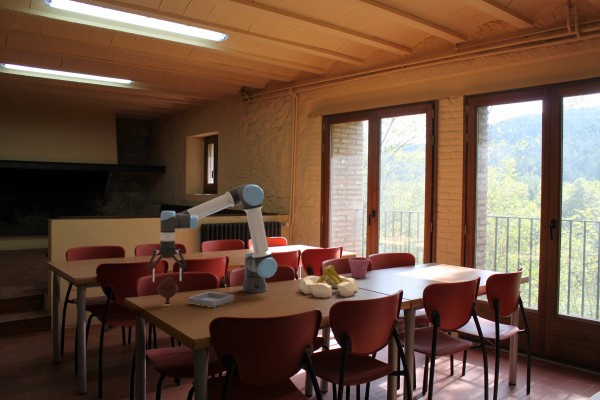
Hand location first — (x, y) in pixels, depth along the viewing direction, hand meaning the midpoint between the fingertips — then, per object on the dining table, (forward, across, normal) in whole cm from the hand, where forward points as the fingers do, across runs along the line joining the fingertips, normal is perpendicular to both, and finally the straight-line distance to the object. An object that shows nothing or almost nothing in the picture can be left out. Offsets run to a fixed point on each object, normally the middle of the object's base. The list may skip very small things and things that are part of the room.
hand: (167, 280), depth 259 cm
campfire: (+12, +94, +11) cm, 95 cm away
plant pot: (+11, +130, +52) cm, 140 cm away
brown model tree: (+13, 0, 0) cm, 13 cm away
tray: (+13, +23, 0) cm, 26 cm away
